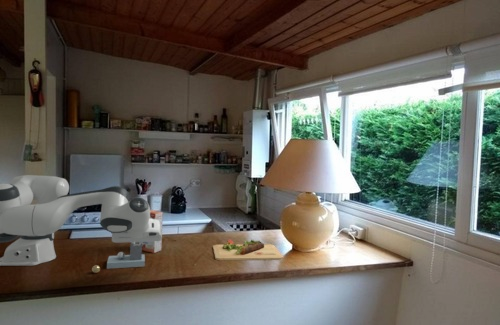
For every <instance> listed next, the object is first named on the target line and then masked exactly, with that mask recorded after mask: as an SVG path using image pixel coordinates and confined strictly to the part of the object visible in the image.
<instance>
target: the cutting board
mask: <svg viewBox="0 0 500 325" xmlns="http://www.w3.org/2000/svg"><path fill="white" fill-rule="evenodd" d="M212 249H213V250H212V251H213V255H214V258H215V260H216V261H282V260H284V258H285V257H284V255H283V254H282V253H281V252H280V251H279V249H278V248H277V247H276V246H275V245H274V244H271V243H270V244H264V243H263V242H262V241H260V240H256V241H255V240H254V239H250V241H248V240H245V241H244V243H243V244H237V243H235V242H234V241H232V239H230V238H228V239H227V240H226V243H224V244H214V245H212Z"/></svg>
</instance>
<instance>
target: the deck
mask: <svg viewBox="0 0 500 325" xmlns="http://www.w3.org/2000/svg"><path fill="white" fill-rule="evenodd" d="M145 266H146V257H145V253H144V254H143V253H142V259H141V260H130V254H125V256H124V258H123V259H119V258H118V257H117V255H109V256H108V258H107V262H106V270H107V269H109V270H111V269H123V268H137V267H139V268H140V267H141V268H142V267H145Z"/></svg>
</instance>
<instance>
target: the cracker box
mask: <svg viewBox="0 0 500 325" xmlns="http://www.w3.org/2000/svg"><path fill="white" fill-rule="evenodd" d="M163 213H164V212H163V211H159V210H153V209H150V218H151V219H156V220H159V222H160V226H161V229H162V230H163V215H164V214H163ZM162 241H163V239H162V240H161V241H151V242H143V243H142V252H143V251H144V252H147V253H151V254H155V253H158V252H162V246H163V245H162V244H163V242H162Z"/></svg>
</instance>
